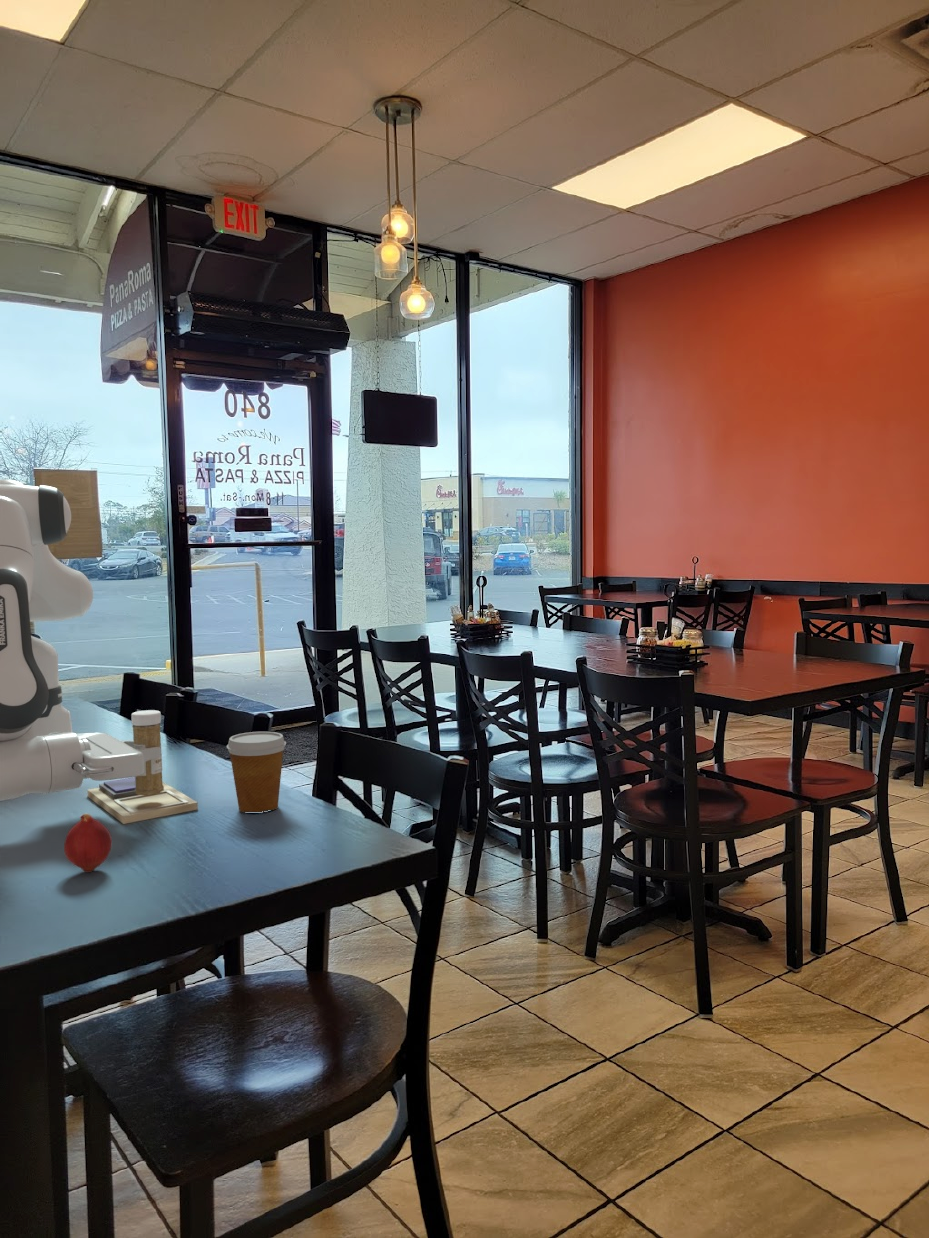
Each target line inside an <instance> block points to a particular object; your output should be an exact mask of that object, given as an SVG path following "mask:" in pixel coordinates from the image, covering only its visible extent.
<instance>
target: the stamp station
mask: <svg viewBox="0 0 929 1238" xmlns="http://www.w3.org/2000/svg"><path fill="white" fill-rule="evenodd" d="M162 783H163V788H164V789H163V791H162V792H160V793H157V794H154V795H138V794H136V793H135V789H136V784H135V777H130V778H122V779H114V780H107V781H103V783H99V784H98V785H99V786H98V787H94V788H89V789H87V790H86V792H87V793H86V794H87V797H88V798H89V799H90V800H91V801H93V802H94V803H95V804H97V805H98V806H99V807H101V808H102V809H103V810H105V811H106V812H107V813H109V814H110V815H111V816H112V817H114V818H115V819H116V820H118V821H119V822H120V823H122V825H125V824H131V823H136V822H141V821H145V820H150V819H156V818H157V819H158V818H160V817H161V818H162V817H167V816H171V815H176V814H181V813H187V812H192V811H197V810H198V809H199V805H198V804H199V803H198V801H196V800H195V799H193V798H191V797H189V796H187V795H186V794H184V793H183V792H181V791H179V790H177V789H176V788H175V787H173V786H171V785H168V784H167V783H166V782H163V781H162Z"/></svg>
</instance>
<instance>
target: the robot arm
mask: <svg viewBox="0 0 929 1238" xmlns="http://www.w3.org/2000/svg"><path fill="white" fill-rule="evenodd" d="M71 522H72V512H71V507H70V505H69V501H68V500H67V499H66V497H65V494H64V493H63V492H62V491H61V490H60V489H58V488H57V487H54V486H49V485H43V484H40V485H39V486H37V485H36V486H35V485H25V483H22V482H21V481H18V480H14V479H8V478H7V479H6V478H4V479H0V801H5V800H13V799H18V798H21V797H23V796H25V795H28V794H50V793H56V792H62V791H68V790H75V789H78V788H81V786H82V785H83V784H82V783H83V780H84V779H85V780H86V779H90V780H92V781H99V782H101V781H103V782H104V781H114V780H120V779H126V778H132V777H136V776H139V775H142V774H143V773H144V762H146V761H148V760H151V759H156V758H160V757H161V754H162V747H161V748H160V747H157V746H151V747H147V748H145V749H134V748H133V742H134V741H133V740H120V739H117V738H116V737H114V736H112V735H111V734H108V733H105V732H83V733H76V732H74V731H73V727H72V726H73V725H72V716H71V711H70V710H68V709H67V708H66V707H64V706H63V705H62V702H63V691H62V686H61V685H60V681H59V680H60V677H59V674H60V673H59V658H58V652H57V649H55V647H54V646H53V645H52V644H51V643H49V642H47V641H45V640H43V639H41V638H38V637H35V636H33V635H32V631H31V622H33V623H35V622H58V621H59V622H60V621H65V620H66V621H67V620H70V619H74V618H79V617H82V616H84V615H85V614H86V613H87V612H88V611H89V609H90V607H91V605H92V603H93V599H94V590H93V586H92V584H91V582H90V580H89V578H88V577H87V576H86V575H85V573H83V572H82V571H79V570H77V569H74V568H72V567H70V566H68V565H66V564H64V563H62V562H61V561H60V560H59V559H58V558H56V556H54V555H53V554H52V552H51V551H50V547H49V545H53V544H57V543H60V542H63V540H64V539H65V538H66V537H67V536H68V532H69V529H70V526H71Z"/></svg>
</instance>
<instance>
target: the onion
mask: <svg viewBox="0 0 929 1238" xmlns="http://www.w3.org/2000/svg"><path fill="white" fill-rule="evenodd" d="M79 818H80V821H78V822H77V823H76V824H74V825H73V826H72V827H71V829H70V830H69V831H68V833H67V835H66V837H65V841H64V844H63V845H64V847H63V850H64V854H65V857H66V858H67V860H68V861H69V862H70V863H71V864H73V865H74V866H76V867H78V868H79V869H81V870H82V871H84V872H86V873H91V872H92V871H94V870H96V869H97V868H98V867H99V866H100V865H101V864H103V863H104V862H105V860H106V859H107V857H108V856H109V854H110V853H111V848H112V840H113V839H112V835H111V834H110V831H109V830H108V828H107V827H106V826H105V825H104V824H102V822H100V820H97V819H95V818H93V817H92V816H91V815H90V814H89V813H83V814H82V815H81V816H80V817H79Z"/></svg>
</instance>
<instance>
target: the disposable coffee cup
mask: <svg viewBox="0 0 929 1238" xmlns="http://www.w3.org/2000/svg"><path fill="white" fill-rule="evenodd" d="M286 745H287V741H285V739H284V735H283V734H282V733H280V732H275V731H252V732H251V731H250V732H244V733H238V734H235V735H232V736H230V737H229V739H228V744H227V745H226V749H227V750H228V753H229V756H230V762H231V769H232V774H233V781H234V788H235V792H236V800H237V805H238V806H237V807H238V811H239V810H240V811H242V812H262V811H263V812H264V811H268V810H274V809H276V808H277V807H279V799H280V798H279V797H280V789H281V777H282V766H283V755H284V750H285V747H286ZM277 809H278V808H277ZM277 809H276V810H277ZM240 811H239V812H240ZM274 811H275V810H274ZM242 812H241V813H242Z"/></svg>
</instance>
